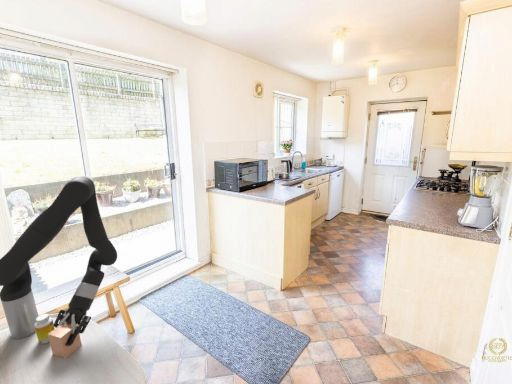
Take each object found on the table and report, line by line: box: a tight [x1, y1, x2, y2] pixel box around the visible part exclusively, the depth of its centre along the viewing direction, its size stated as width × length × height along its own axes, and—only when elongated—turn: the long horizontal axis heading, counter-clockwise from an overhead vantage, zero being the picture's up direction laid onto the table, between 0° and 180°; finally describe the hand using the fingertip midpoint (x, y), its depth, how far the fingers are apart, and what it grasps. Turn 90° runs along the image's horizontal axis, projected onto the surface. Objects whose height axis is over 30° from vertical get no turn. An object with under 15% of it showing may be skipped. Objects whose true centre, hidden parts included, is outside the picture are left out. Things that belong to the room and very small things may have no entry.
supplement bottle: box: [34, 313, 56, 344], centre depth 101 cm, size 6×6×10 cm
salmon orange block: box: [48, 322, 83, 359], centre depth 96 cm, size 6×6×9 cm
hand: (61, 343), depth 94 cm, fingers closed on salmon orange block, 6 cm apart
